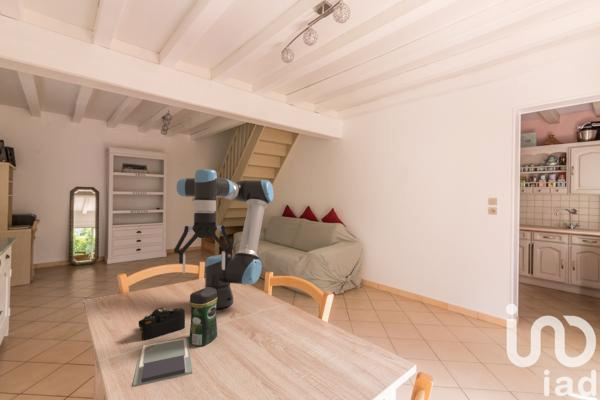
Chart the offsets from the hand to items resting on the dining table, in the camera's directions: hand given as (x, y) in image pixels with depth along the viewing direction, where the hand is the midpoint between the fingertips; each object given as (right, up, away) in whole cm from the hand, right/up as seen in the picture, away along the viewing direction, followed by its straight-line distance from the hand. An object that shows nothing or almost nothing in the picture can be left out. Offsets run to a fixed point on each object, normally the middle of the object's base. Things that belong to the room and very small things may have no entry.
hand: (204, 270), depth 101 cm
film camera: (-19, -25, +5) cm, 32 cm away
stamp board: (-8, -25, -13) cm, 29 cm away
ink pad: (-5, -25, -19) cm, 32 cm away
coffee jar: (0, -25, 0) cm, 25 cm away
